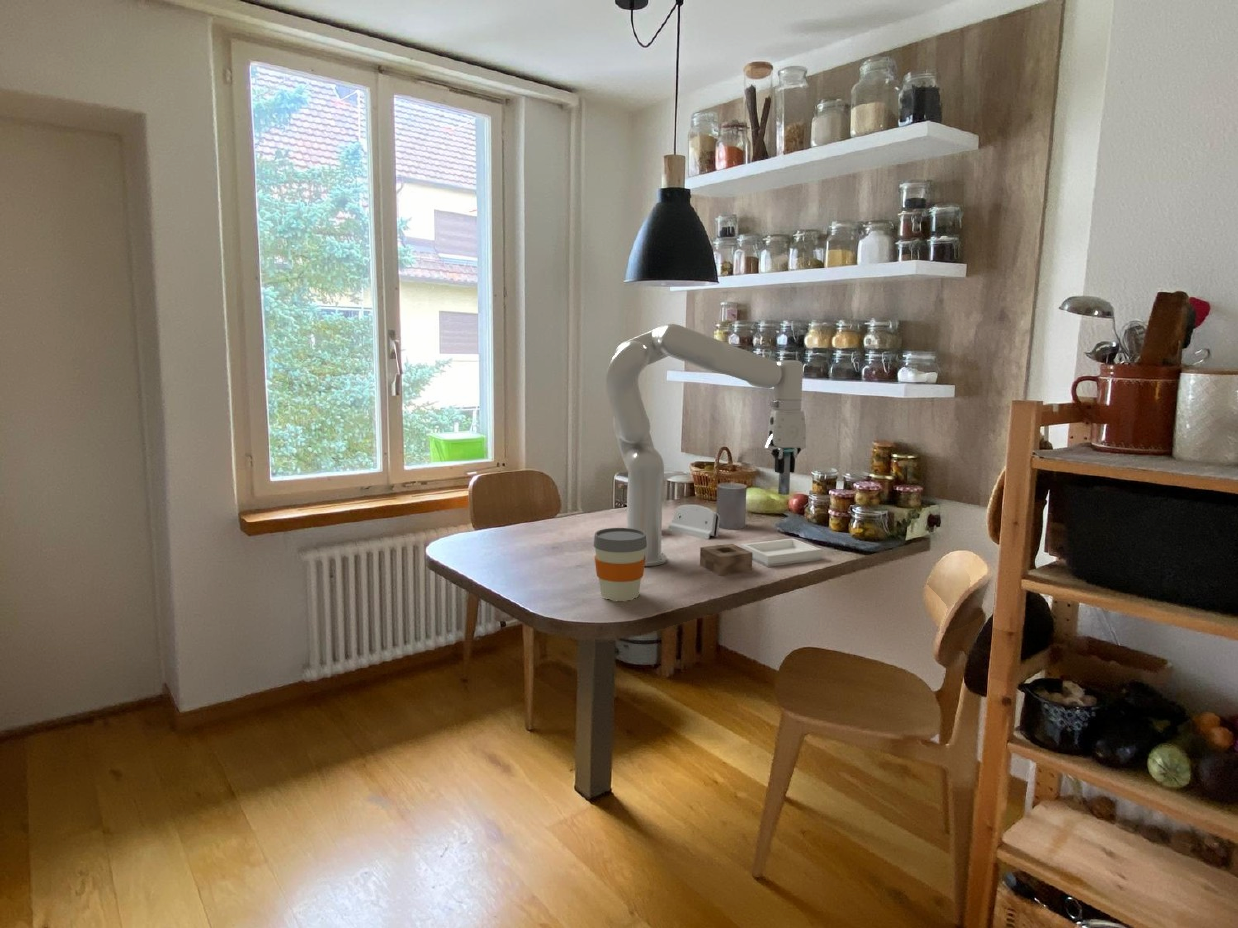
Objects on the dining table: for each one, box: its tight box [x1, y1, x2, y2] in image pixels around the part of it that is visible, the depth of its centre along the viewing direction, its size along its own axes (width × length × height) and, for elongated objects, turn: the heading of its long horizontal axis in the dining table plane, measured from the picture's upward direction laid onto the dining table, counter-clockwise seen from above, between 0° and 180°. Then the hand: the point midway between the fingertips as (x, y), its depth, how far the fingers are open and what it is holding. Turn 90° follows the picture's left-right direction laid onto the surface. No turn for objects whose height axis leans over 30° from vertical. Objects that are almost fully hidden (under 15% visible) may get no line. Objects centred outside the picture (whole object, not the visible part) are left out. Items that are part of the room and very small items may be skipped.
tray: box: [740, 538, 823, 568], centre depth 210 cm, size 18×13×3 cm
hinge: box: [667, 504, 720, 540], centre depth 237 cm, size 17×5×10 cm, turn 47°
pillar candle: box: [715, 482, 748, 530], centre depth 246 cm, size 10×10×15 cm
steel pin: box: [777, 448, 794, 496], centre depth 207 cm, size 5×5×13 cm
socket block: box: [699, 543, 753, 576], centre depth 199 cm, size 10×10×5 cm
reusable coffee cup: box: [593, 527, 647, 602], centre depth 176 cm, size 13×13×15 cm
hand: (784, 471), depth 207 cm, fingers closed on steel pin, 3 cm apart
